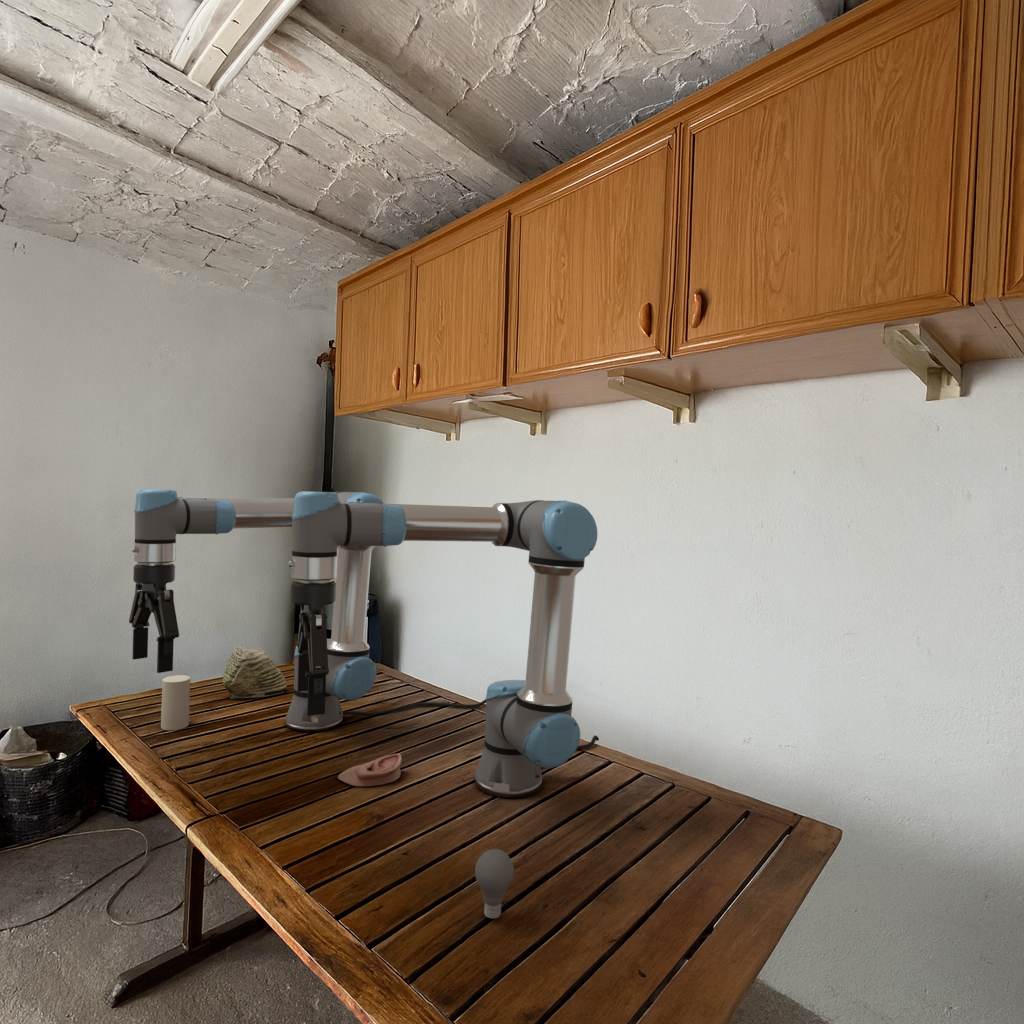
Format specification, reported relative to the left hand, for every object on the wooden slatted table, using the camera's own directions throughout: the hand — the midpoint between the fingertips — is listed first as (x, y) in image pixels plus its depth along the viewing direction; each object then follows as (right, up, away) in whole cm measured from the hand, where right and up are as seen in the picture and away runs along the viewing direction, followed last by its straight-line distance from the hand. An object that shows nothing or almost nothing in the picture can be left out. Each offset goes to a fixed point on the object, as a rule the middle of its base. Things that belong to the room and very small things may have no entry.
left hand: (152, 664), depth 132 cm
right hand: (+40, -1, -22) cm, 45 cm away
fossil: (-5, -25, +66) cm, 71 cm away
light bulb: (+72, -31, -34) cm, 85 cm away
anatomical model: (+43, -29, +12) cm, 53 cm away
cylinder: (-15, -25, +38) cm, 48 cm away
